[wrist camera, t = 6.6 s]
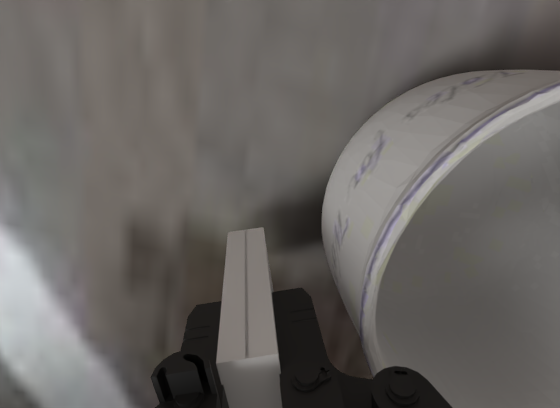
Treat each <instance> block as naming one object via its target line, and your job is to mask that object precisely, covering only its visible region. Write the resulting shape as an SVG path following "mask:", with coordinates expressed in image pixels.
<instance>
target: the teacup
mask: <svg viewBox="0 0 560 408" xmlns="http://www.w3.org/2000/svg"><path fill="white" fill-rule="evenodd" d="M321 224H322V238H323V245H324V251H325V254H326V258H327V261H328V265H329V268H330V271H331V274H332V276H333V279H334V282H335V284H336V287H337V289H338V291H339V294H340V296H341V298H342V301H343V303H344V305H345V307H346V309H347V311H348V314H349V316H350V318H351V320H352V322H353V324H354V326H355V328H356V330H357V332H358V334H359V336H360V339H361V343H362V349H363V352H364V355H365V358H366V361H367V364H368V366H369V368H370V370H371V373H372V375H373V377H375V375H376V373H378V372H379V371H381V370H383V369H384V368H388V367H393V366H400V367H407V368H410V369H412V370H415V371H417V372H419V373H420V374H421V375H422V376H424V377H425V378H426V379H427V380H428V381H429V382H430V383H431V384H432V385H433V386H434V387H435V389H436V390H437V391H438V392H439V393H440V394H441V395H442V396H443V397H444V399H445V400H446V401H447V402H448V403H449V404H450V405H451V406H452V408H560V71H551V70H491V71H474V72H467V73H461V74H455V75H451V76H447V77H443V78H439V79H436V80H433V81H430V82H427V83H424V84H422V85H420V86H418V87H415V88H413V89H411V90H409V91H407V92H405V93H404V94H402V95H400V96H399V97H397V98H395V99H394V100H392V101H390V102H389V103H387V104H386V105H385V106H383V107H382V108H381V109H380V110H379V111H377V112H376V113H375V114H374V115H373V116H372V117H371V118H370V119H368V120H367V121H366V122H365V123H364V124H363V125H362V126H361V128H360V129H359V130H358V131H357V132H356V133H355V134H354V136H353V137H352V138H351V140H350V141H349V143H348V144H347V145H346V147H345V148H344V150H343V152H342V153H341V155H340V157H339V158H338V160H337V163H336V165H335V167H334V169H333V171H332V174H331V176H330V179H329V182H328V185H327V188H326V192H325V197H324V202H323V207H322V223H321Z"/></svg>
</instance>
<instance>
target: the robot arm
mask: <svg viewBox="0 0 560 408" xmlns="http://www.w3.org/2000/svg"><path fill="white" fill-rule="evenodd" d="M185 330H186V332H185V333H184V338H183V343H182V348H181V351H180V352H177V353H174V354H172V355H170V356H169V357H167V358H165V359H164V360H163V361H162V362H161V363H160V364H159V365H158V366H157V367H156V368H155V370H154V372H153V374H152V376H151V380H152V382H153V385H154V388H155V391H156V394H157V396H158V399H159V402H160V404H159V405H158V406H157V407H155V408H452V406H451V405H450V404H449V403H448V402H447V401H446V400H445V399H444V397H443V396H442V395H441V394H440V393H439V392H438V391H437V390H436V389H435V387H434V386H433V385H432V384H431V383H430V382H429V381H428V380H427V379H426V378H425V377H424V376H422V375H421V374H420V373H419V372H417V371H415V370H412V369H410V368H407V367H400V366H393V367H388V368H384V369H383V370H381V371H379V372H378V373H376V375H375V377H374V378H373V380H372V379H364V378H356V377H352V376H348V375H346V374H344V373H341V372H340V371H339V370H337V369H336V368H334V366H333V365H332V364H331V363H330V361H329V359H328V357H327V354H326V350H325V347H324V343H323V339H322V336H321V332H320V328H319V325H318V321H317V318H316V314H315V310H314V307H313V303H312V299H311V296H310V295H309V294H308V293H307V292H306V291H305V290H304V289H303V288H297V289H290V290H284V291H277V292H273V286H272V279H271V273H270V266H269V260H268V253H267V247H266V240H265V234H264V227H260V228H254V229H247V230H240V231H233V232H228V238H227V249H226V260H225V271H224V282H223V293H222V301H220V302H213V303H207V304H201V305H196V307H195V308H194V310H193V311H192V312H191V314H190V315H189V316H188V319H187V324H186V329H185Z"/></svg>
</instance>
